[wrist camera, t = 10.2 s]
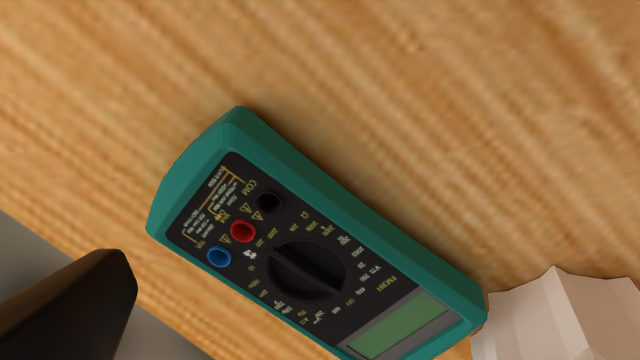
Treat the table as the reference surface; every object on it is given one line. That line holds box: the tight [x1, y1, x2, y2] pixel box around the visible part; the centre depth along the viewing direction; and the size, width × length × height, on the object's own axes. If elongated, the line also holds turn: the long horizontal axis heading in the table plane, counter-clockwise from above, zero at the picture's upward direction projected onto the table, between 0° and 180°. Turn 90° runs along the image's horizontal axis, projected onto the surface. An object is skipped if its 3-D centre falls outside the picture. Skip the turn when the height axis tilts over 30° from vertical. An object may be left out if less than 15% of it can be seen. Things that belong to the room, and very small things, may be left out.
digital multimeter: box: [145, 106, 488, 360], centre depth 21 cm, size 7×15×3 cm, turn 52°
